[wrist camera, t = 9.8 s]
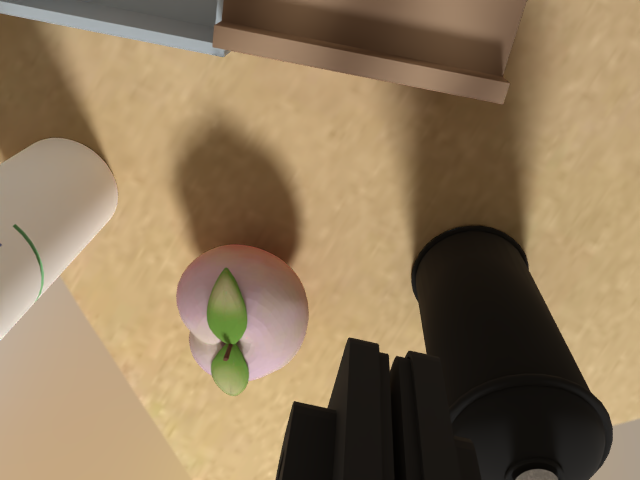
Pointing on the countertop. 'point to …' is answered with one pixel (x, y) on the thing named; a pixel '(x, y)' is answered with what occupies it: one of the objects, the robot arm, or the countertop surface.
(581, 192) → the countertop surface
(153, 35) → the bin
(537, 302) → the aerosol can
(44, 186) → the cylindrical container
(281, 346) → the decorative fruit
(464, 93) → the brown wooden box
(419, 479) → the robot arm
